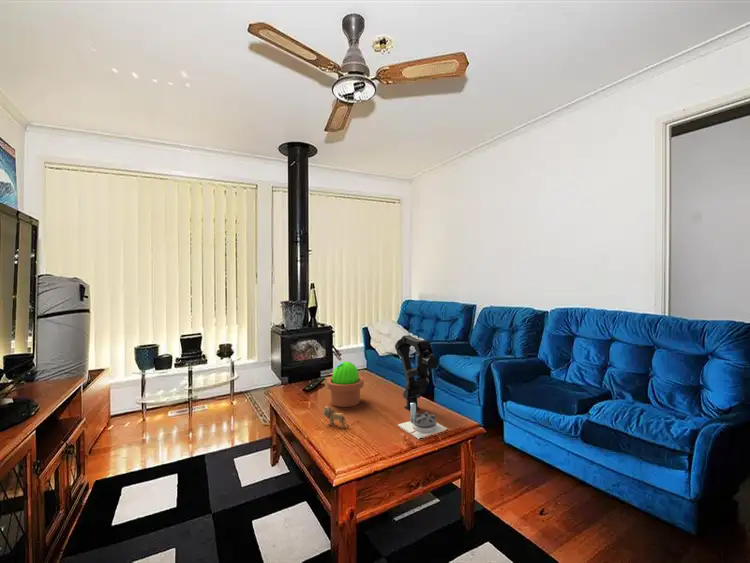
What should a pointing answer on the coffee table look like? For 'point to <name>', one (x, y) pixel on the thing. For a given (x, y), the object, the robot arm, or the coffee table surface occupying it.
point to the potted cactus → (345, 385)
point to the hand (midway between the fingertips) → (422, 393)
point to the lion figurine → (334, 416)
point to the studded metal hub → (421, 418)
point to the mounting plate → (418, 434)
